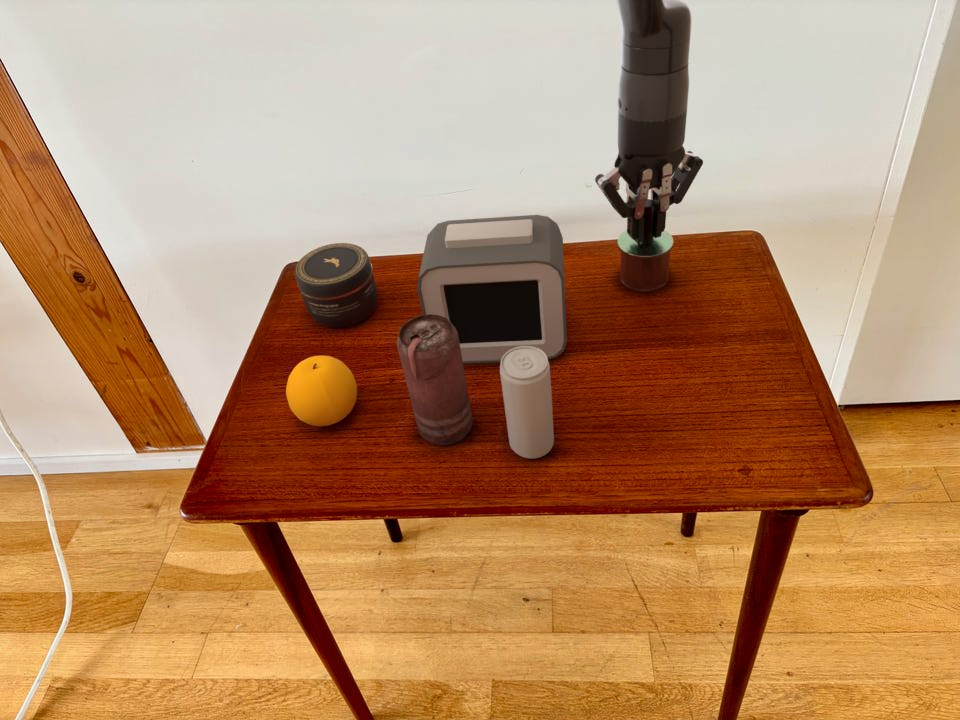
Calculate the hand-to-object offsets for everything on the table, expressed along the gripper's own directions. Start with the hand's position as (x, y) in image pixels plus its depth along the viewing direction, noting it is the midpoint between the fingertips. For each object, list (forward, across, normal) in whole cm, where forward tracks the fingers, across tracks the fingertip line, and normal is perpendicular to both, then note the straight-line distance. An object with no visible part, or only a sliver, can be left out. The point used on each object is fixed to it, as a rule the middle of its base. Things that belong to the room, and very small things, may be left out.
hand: (645, 236), depth 91 cm
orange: (+7, -44, -7) cm, 45 cm away
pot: (+7, 0, 0) cm, 7 cm away
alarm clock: (+7, -21, -2) cm, 22 cm away
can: (+7, -32, -15) cm, 36 cm away
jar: (+7, -39, +12) cm, 41 cm away
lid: (+1, 0, 0) cm, 1 cm away
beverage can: (+7, -24, -21) cm, 33 cm away
